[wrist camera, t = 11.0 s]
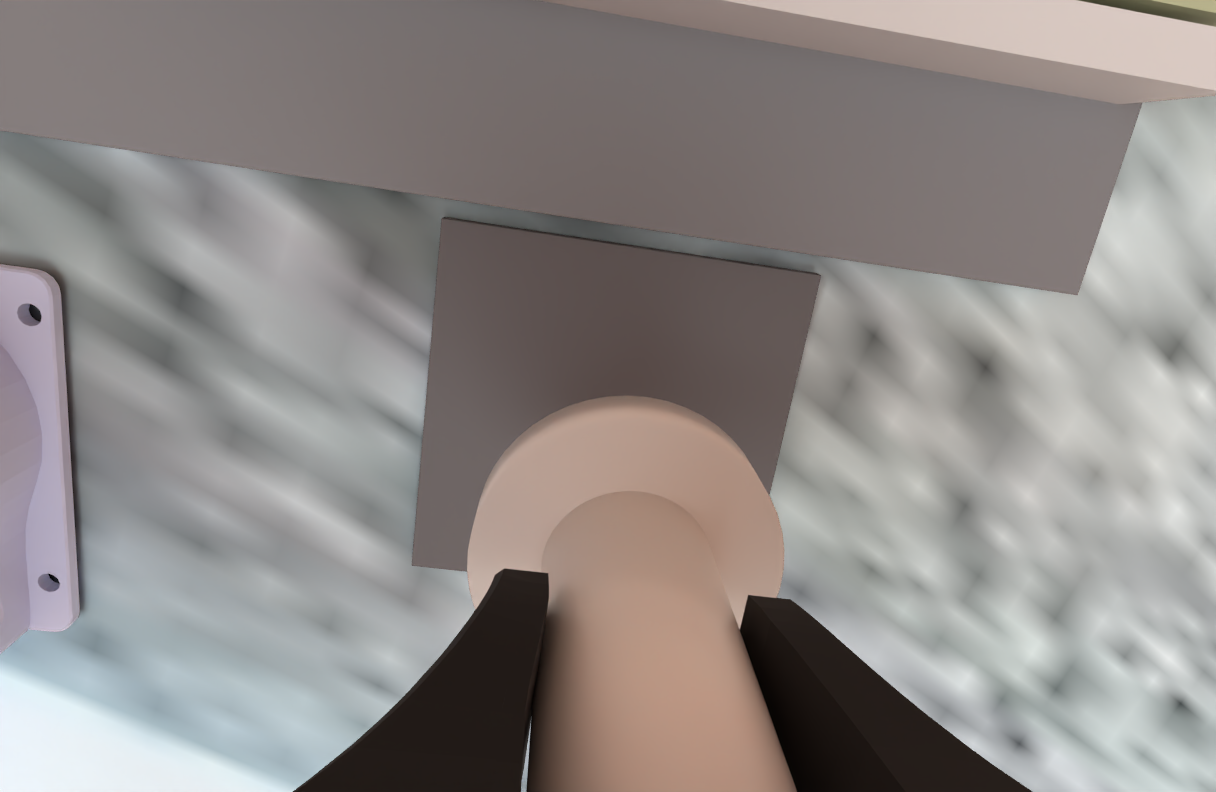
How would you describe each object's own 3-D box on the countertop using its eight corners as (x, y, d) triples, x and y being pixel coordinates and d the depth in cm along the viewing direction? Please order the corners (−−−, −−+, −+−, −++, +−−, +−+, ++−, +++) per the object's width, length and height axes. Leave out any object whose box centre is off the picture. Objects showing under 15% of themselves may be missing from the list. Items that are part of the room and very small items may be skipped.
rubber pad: (741, 593, 21) (744, 601, 21) (414, 557, 20) (411, 565, 20) (816, 273, 19) (820, 275, 18) (444, 217, 18) (441, 218, 17)
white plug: (733, 669, 15) (922, 1264, 7) (462, 641, 14) (328, 1248, 6) (795, 416, 13) (1130, 812, 5) (493, 376, 13) (367, 744, 5)
